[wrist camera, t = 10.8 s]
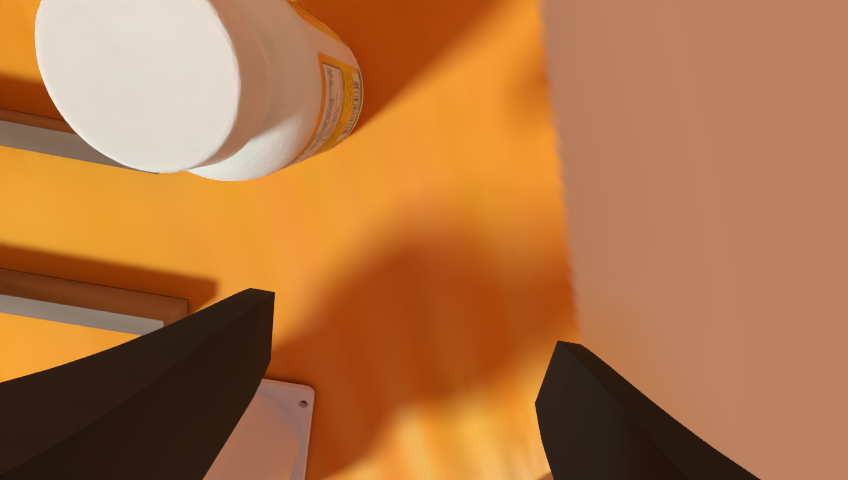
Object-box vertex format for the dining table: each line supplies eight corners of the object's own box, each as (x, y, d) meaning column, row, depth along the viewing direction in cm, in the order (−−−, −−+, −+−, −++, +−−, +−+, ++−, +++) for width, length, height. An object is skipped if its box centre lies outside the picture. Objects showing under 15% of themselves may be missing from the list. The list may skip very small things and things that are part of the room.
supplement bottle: (386, 123, 17) (327, 148, 8) (279, 172, 18) (116, 245, 9) (327, -9, 15) (170, -165, 6) (213, 52, 16) (-68, -9, 7)
